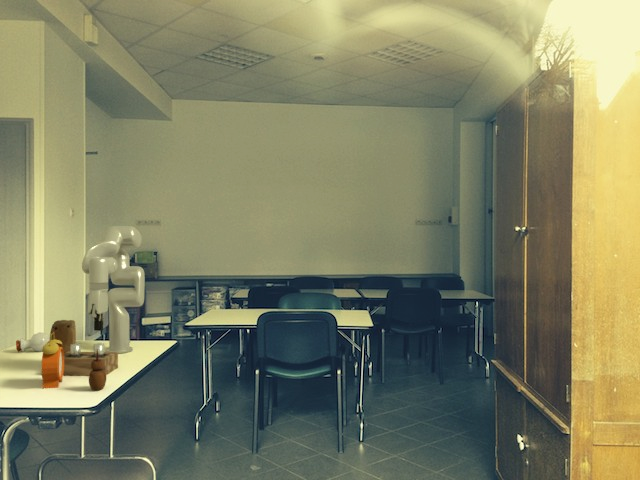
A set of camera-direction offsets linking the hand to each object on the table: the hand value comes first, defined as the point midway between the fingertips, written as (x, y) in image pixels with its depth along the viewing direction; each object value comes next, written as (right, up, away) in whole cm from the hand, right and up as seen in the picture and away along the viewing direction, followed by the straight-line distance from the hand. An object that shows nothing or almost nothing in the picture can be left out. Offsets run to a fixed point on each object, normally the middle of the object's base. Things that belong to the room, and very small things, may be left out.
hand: (98, 330), depth 231 cm
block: (-21, -18, +12) cm, 30 cm away
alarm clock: (-10, -19, -18) cm, 28 cm away
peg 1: (-10, -13, +1) cm, 17 cm away
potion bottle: (-49, -18, +40) cm, 66 cm away
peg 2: (0, -13, +1) cm, 13 cm away
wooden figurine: (+9, -19, -24) cm, 32 cm away
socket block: (-6, -18, +2) cm, 19 cm away
